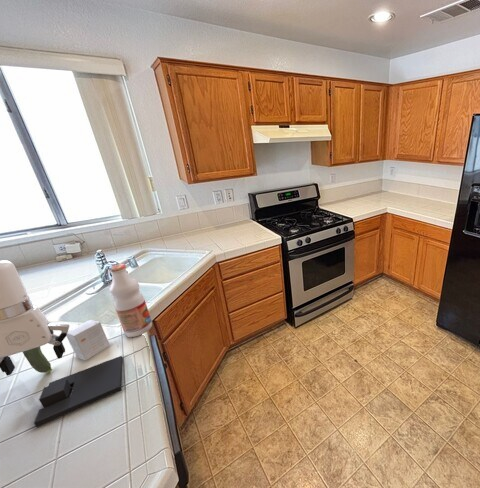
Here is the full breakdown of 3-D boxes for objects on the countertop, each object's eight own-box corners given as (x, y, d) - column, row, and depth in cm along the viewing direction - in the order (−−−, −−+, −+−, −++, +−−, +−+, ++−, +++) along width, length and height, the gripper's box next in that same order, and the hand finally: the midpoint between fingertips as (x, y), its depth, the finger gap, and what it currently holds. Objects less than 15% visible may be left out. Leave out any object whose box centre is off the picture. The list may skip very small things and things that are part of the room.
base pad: (36, 427, 68) (33, 423, 67) (51, 386, 80) (49, 382, 80) (121, 390, 77) (119, 386, 77) (123, 358, 90) (121, 355, 89)
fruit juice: (122, 331, 105) (98, 267, 95) (148, 320, 111) (128, 259, 102) (129, 341, 99) (103, 274, 89) (156, 328, 105) (135, 264, 96)
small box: (101, 342, 99) (91, 318, 95) (110, 345, 97) (100, 321, 93) (75, 357, 92) (64, 332, 88) (85, 361, 90) (73, 335, 86)
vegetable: (36, 380, 83) (6, 328, 76) (36, 373, 86) (7, 322, 79) (55, 372, 86) (28, 320, 79) (54, 365, 89) (28, 315, 82)
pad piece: (44, 410, 72) (38, 399, 71) (49, 397, 76) (43, 387, 75) (68, 400, 75) (63, 389, 74) (72, 388, 79) (66, 378, 78)
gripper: (-53, 330, 58) (-18, 389, 64) (53, 303, 67) (76, 357, 73) (-36, 314, 64) (-5, 369, 70) (60, 292, 73) (80, 342, 79)
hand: (37, 363), depth 71 cm, fingers open, 9 cm apart
